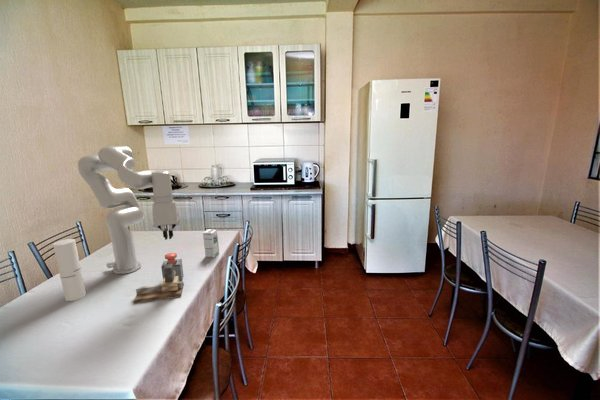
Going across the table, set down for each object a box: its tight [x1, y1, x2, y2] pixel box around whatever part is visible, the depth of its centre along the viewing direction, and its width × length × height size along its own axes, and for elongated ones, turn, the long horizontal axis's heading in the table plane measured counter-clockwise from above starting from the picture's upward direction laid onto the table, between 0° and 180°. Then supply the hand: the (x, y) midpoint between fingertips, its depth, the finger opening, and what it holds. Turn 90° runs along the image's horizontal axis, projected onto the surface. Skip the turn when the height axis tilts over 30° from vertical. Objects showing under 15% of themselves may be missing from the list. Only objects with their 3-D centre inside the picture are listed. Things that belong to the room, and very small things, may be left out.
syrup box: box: [202, 228, 220, 258], centre depth 165 cm, size 6×6×14 cm
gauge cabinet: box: [160, 258, 185, 282], centre depth 138 cm, size 8×6×9 cm
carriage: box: [160, 264, 179, 292], centre depth 127 cm, size 6×6×10 cm
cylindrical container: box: [52, 238, 87, 302], centre depth 124 cm, size 7×7×25 cm
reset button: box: [164, 252, 178, 264], centre depth 137 cm, size 5×5×6 cm
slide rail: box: [133, 281, 185, 304], centre depth 127 cm, size 18×10×4 cm, turn 105°
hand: (168, 238), depth 134 cm, fingers closed
